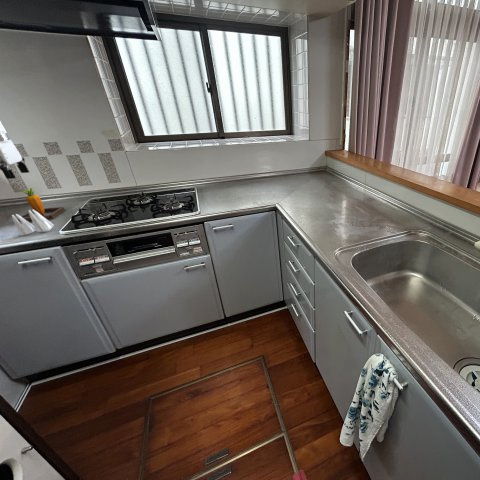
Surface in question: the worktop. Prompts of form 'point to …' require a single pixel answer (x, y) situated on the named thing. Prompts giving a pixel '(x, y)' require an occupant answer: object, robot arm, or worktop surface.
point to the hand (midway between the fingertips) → (18, 175)
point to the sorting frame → (55, 213)
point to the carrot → (35, 201)
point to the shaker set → (38, 221)
